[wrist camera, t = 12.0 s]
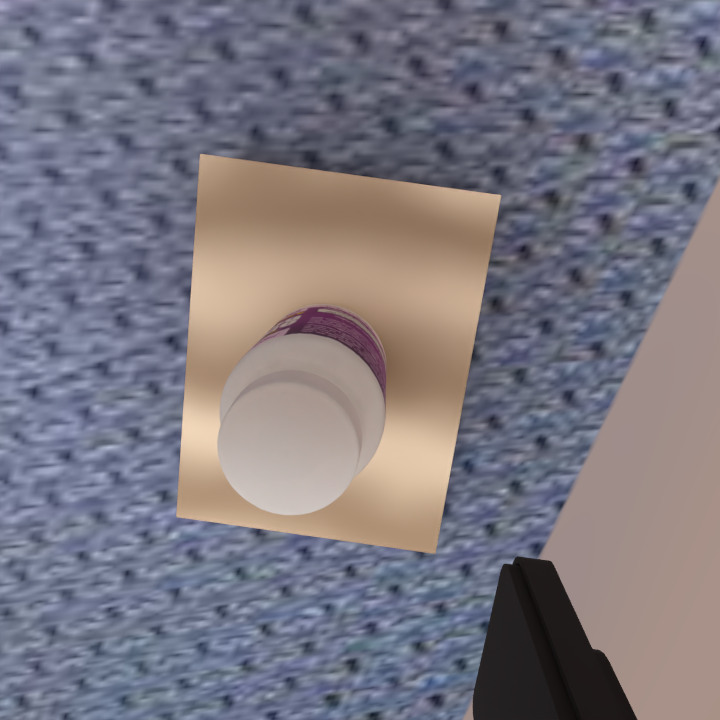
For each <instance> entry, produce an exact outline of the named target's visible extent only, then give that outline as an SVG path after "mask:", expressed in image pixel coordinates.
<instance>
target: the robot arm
mask: <svg viewBox="0 0 720 720" xmlns="http://www.w3.org/2000/svg"><path fill="white" fill-rule="evenodd" d="M473 717H474V720H637V718H636V716H635V714H634V712H633V710H632V708H631V706H630V704H629V701H628V699H627V697H626V695H625V693H624V691H623V689H622V687H621V685H620V683H619V681H618V679H617V677H616V675H615V673H614V671H613V668H612V666H611V664H610V662H609V661H608V659H607V657H606V656H605V654H604V653H603V652H601V651H600V650H595V649H592V647H591V645H590V643H589V641H588V639H587V636H586V634H585V632H584V630H583V628H582V625H581V623H580V621H579V619H578V617H577V615H576V612H575V611H574V608H573V606H572V604H571V602H570V600H569V597H568V595H567V593H566V591H565V589H564V586H563V584H562V582H561V580H560V578H559V576H558V574H557V571H556V569H555V567H554V565H553V563H552V562H551V561H547V560H540V559H532V558H525V557H516V558H515V560H514V562H513V565H511V564H504V565H503V566H502V569H501V572H500V577H499V581H498V586H497V590H496V595H495V599H494V604H493V608H492V613H491V617H490V622H489V626H488V631H487V635H486V640H485V644H484V649H483V653H482V658H481V662H480V667H479V671H478V676H477V680H476V685H475V689H474V695H473Z"/></svg>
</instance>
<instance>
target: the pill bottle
mask: <svg viewBox="0 0 720 720" xmlns="http://www.w3.org/2000/svg"><path fill="white" fill-rule="evenodd" d="M386 372H387V369H386V356H385V351H384V348H383V345H382V343H381V341H380V339H379V337H378V335H377V333H376V332H375V331H374V329H373V328H372V326H371V325H370V324H369V323H368V322H367V321H366V320H365V319H363V318H362V317H361V316H359V315H358V314H356V313H354V312H353V311H351V310H348V309H346V308H343V307H340V306H337V305H332V304H314V305H309V306H305V307H302V308H299V309H297V310H295V311H293V312H291V313H289V314H288V315H286V316H285V317H284V318H282V319H281V320H280V321H279V322H278V323H277V324H276V325H275V326H273V327H272V328H271V329H270V330H269V331H268V332H267V333H266V334H265V335H264V336H263V337H262V338H261V339H260V340H259V341H258V342H257V343H256V344H255V345H254V346H253V347H252V348H251V349H250V350H249V351H248V352H247V353H246V354H245V355H244V356H243V357H242V358H241V360H240V361H239V362H238V363H237V365H236V366H235V367H234V369H233V370H232V372H231V374H230V375H229V377H228V379H227V381H226V383H225V386H224V388H223V392H222V396H221V401H220V424H221V426H220V429H219V433H218V442H217V449H218V457H219V461H220V465H221V468H222V470H223V473H224V475H225V477H226V479H227V480H228V482H229V483H230V485H231V486H232V487H233V488H234V490H235V491H236V492H237V493H238V494H239V495H240V496H241V497H243V498H244V499H245V500H246V501H248V502H249V503H251V504H253V505H255V506H256V507H258V508H260V509H262V510H265V511H267V512H271V513H275V514H280V515H302V514H308V513H312V512H314V511H317V510H320V509H322V508H324V507H326V506H328V505H329V504H331V503H332V502H334V501H335V500H336V499H337V498H339V497H340V496H341V495H342V494H343V492H344V491H345V490H346V489H347V488H348V486H349V485H350V483H351V481H352V480H353V478H354V477H355V476H357V475H358V474H359V473H360V472H361V471H362V470H363V469H364V468H365V467H366V466H367V464H368V463H369V462H370V461H371V459H372V457H373V456H374V454H375V452H376V451H377V449H378V446H379V444H380V441H381V438H382V435H383V431H384V426H385V418H386Z"/></svg>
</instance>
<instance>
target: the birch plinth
mask: <svg viewBox="0 0 720 720" xmlns="http://www.w3.org/2000/svg"><path fill="white" fill-rule="evenodd" d="M500 199H501V195H496V194H489V193H481V192H474V191H467V190H460V189H452V188H445V187H438V186H431V185H423V184H416V183H409V182H401V181H394V180H387V179H380V178H372V177H365V176H358V175H350V174H343V173H336V172H329V171H321V170H314V169H307V168H300V167H292V166H285V165H278V164H270V163H263V162H256V161H249V160H241V159H234V158H227V157H220V156H212V155H205V154H200V163H199V178H198V193H197V209H196V224H195V239H194V255H193V270H192V285H191V301H190V316H189V331H188V346H187V362H186V377H185V392H184V408H183V423H182V438H181V454H180V469H179V484H178V499H177V515H176V517H181V518H188V519H195V520H202V521H209V522H216V523H223V524H230V525H237V526H244V527H251V528H258V529H265V530H272V531H279V532H286V533H293V534H300V535H307V536H314V537H321V538H328V539H335V540H342V541H350V542H357V543H364V544H371V545H378V546H385V547H392V548H399V549H406V550H413V551H420V552H427V553H434V554H435V552H436V547H437V541H438V536H439V531H440V525H441V520H442V514H443V509H444V503H445V498H446V493H447V487H448V482H449V476H450V471H451V465H452V460H453V455H454V449H455V444H456V438H457V433H458V427H459V422H460V417H461V411H462V406H463V400H464V395H465V389H466V384H467V378H468V373H469V368H470V362H471V357H472V351H473V346H474V340H475V335H476V330H477V324H478V319H479V313H480V308H481V302H482V297H483V292H484V286H485V281H486V275H487V270H488V264H489V259H490V254H491V248H492V243H493V237H494V232H495V226H496V221H497V216H498V210H499V205H500ZM314 304H332V305H337V306H340V307H343V308H346V309H348V310H351V311H353V312H354V313H356V314H358V315H359V316H361V317H362V318H363V319H365V320H366V321H367V322H368V323H369V324H370V325H371V326H372V328H373V329H374V331H375V332H376V333H377V335H378V337H379V339H380V341H381V343H382V345H383V348H384V351H385V356H386V369H387V372H386V418H385V426H384V431H383V435H382V438H381V441H380V444H379V446H378V449H377V451H376V452H375V454H374V456H373V457H372V459H371V461H370V462H369V463H368V464H367V466H366V467H365V468H364V469H363V470H362V471H361V472H360V473H359V474H358V475H357V476H355V477H354V478H353V480H352V481H351V483H350V485H349V486H348V488H347V489H346V490H345V491H344V492H343V494H342V495H341V496H340V497H339V498H337V499H336V500H335V501H334V502H332V503H331V504H329V505H328V506H326V507H324V508H322V509H320V510H317V511H314V512H312V513H308V514H302V515H280V514H275V513H271V512H267V511H265V510H262V509H260V508H258V507H256V506H255V505H253V504H251V503H249V502H248V501H246V500H245V499H244V498H243V497H241V496H240V495H239V494H238V493H237V492H236V491H235V490H234V488H233V487H232V486H231V485H230V483H229V482H228V480H227V479H226V477H225V475H224V473H223V470H222V468H221V465H220V461H219V457H218V449H217V442H218V433H219V429H220V426H221V424H220V401H221V396H222V392H223V388H224V386H225V383H226V381H227V379H228V377H229V375H230V374H231V372H232V370H233V369H234V367H235V366H236V365H237V363H238V362H239V361H240V360H241V358H242V357H243V356H244V355H245V354H246V353H247V352H248V351H249V350H250V349H251V348H252V347H253V346H254V345H255V344H256V343H257V342H258V341H259V340H260V339H261V338H262V337H263V336H264V335H265V334H266V333H267V332H268V331H269V330H270V329H271V328H272V327H273V326H275V325H276V324H277V323H278V322H279V321H280V320H281V319H282V318H284V317H285V316H286V315H288V314H289V313H291V312H293V311H295V310H297V309H299V308H302V307H305V306H309V305H314Z"/></svg>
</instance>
